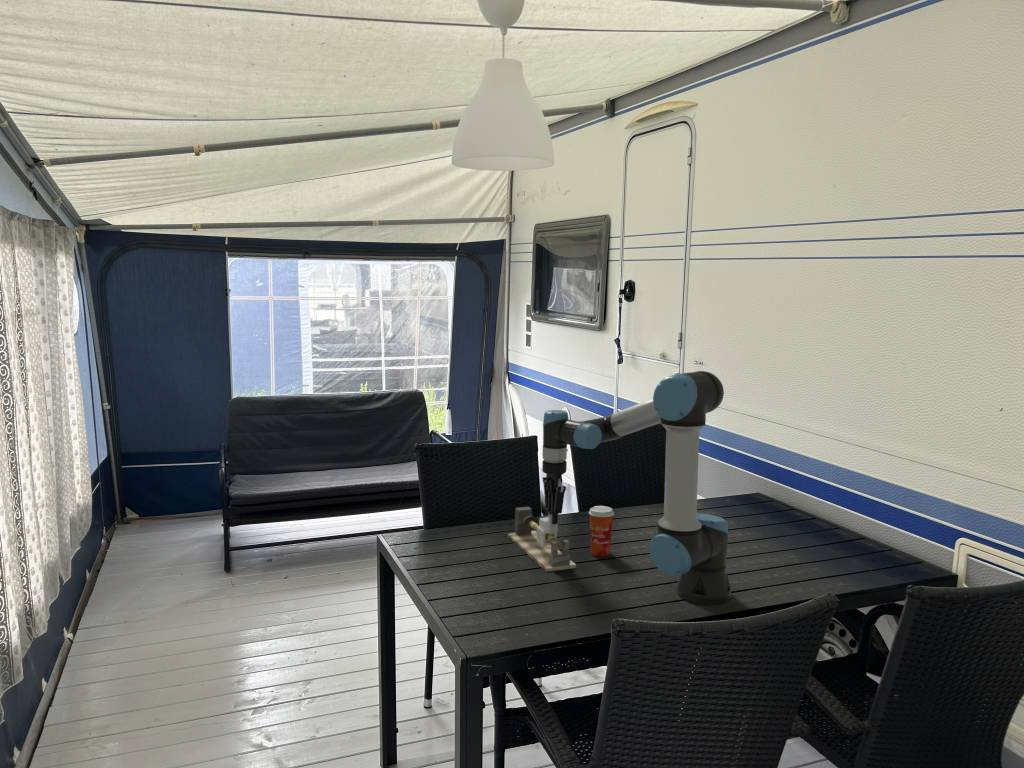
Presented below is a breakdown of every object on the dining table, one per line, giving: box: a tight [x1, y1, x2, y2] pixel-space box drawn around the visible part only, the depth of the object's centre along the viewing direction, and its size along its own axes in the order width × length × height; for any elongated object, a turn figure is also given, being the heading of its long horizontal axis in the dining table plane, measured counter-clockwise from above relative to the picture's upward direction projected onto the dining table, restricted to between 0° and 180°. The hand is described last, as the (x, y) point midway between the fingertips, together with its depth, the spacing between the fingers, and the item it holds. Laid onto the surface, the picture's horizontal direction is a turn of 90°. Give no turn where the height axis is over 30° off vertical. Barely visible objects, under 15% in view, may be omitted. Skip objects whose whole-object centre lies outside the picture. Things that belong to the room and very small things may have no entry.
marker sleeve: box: [536, 516, 558, 546], centre depth 247 cm, size 5×5×8 cm
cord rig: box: [507, 506, 577, 572], centre depth 252 cm, size 34×10×10 cm, turn 21°
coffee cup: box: [588, 505, 615, 557], centre depth 251 cm, size 8×8×15 cm
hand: (552, 532), depth 242 cm, fingers closed
